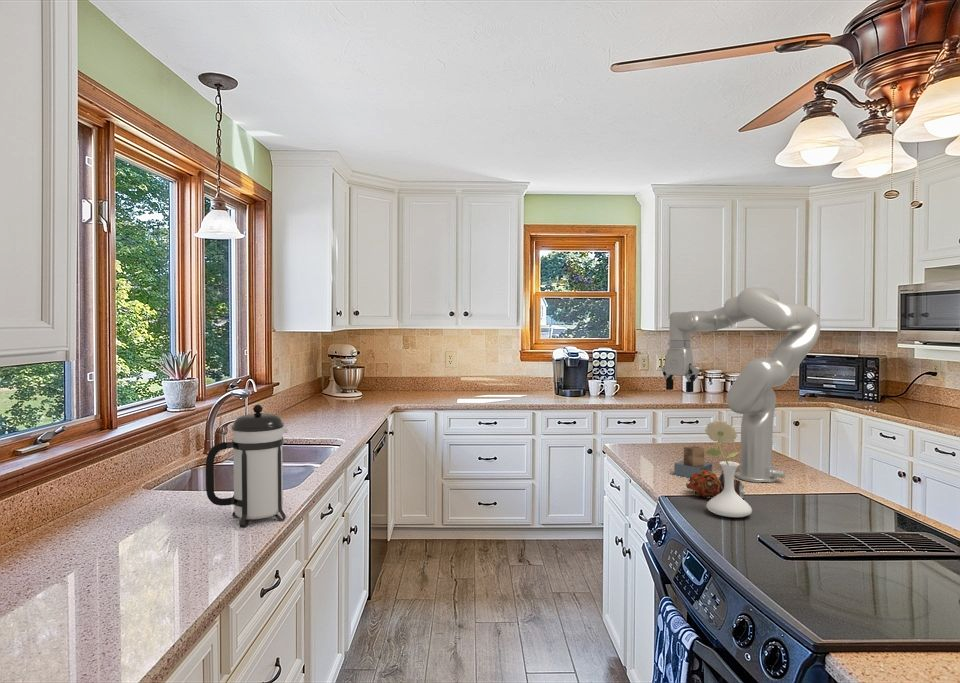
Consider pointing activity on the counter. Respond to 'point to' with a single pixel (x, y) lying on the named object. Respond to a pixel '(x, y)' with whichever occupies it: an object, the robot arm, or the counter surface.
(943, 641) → the counter surface
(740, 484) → the chocolate cake
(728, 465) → the flower in vase
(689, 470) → the gray rectangular block
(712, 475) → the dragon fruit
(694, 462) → the block
